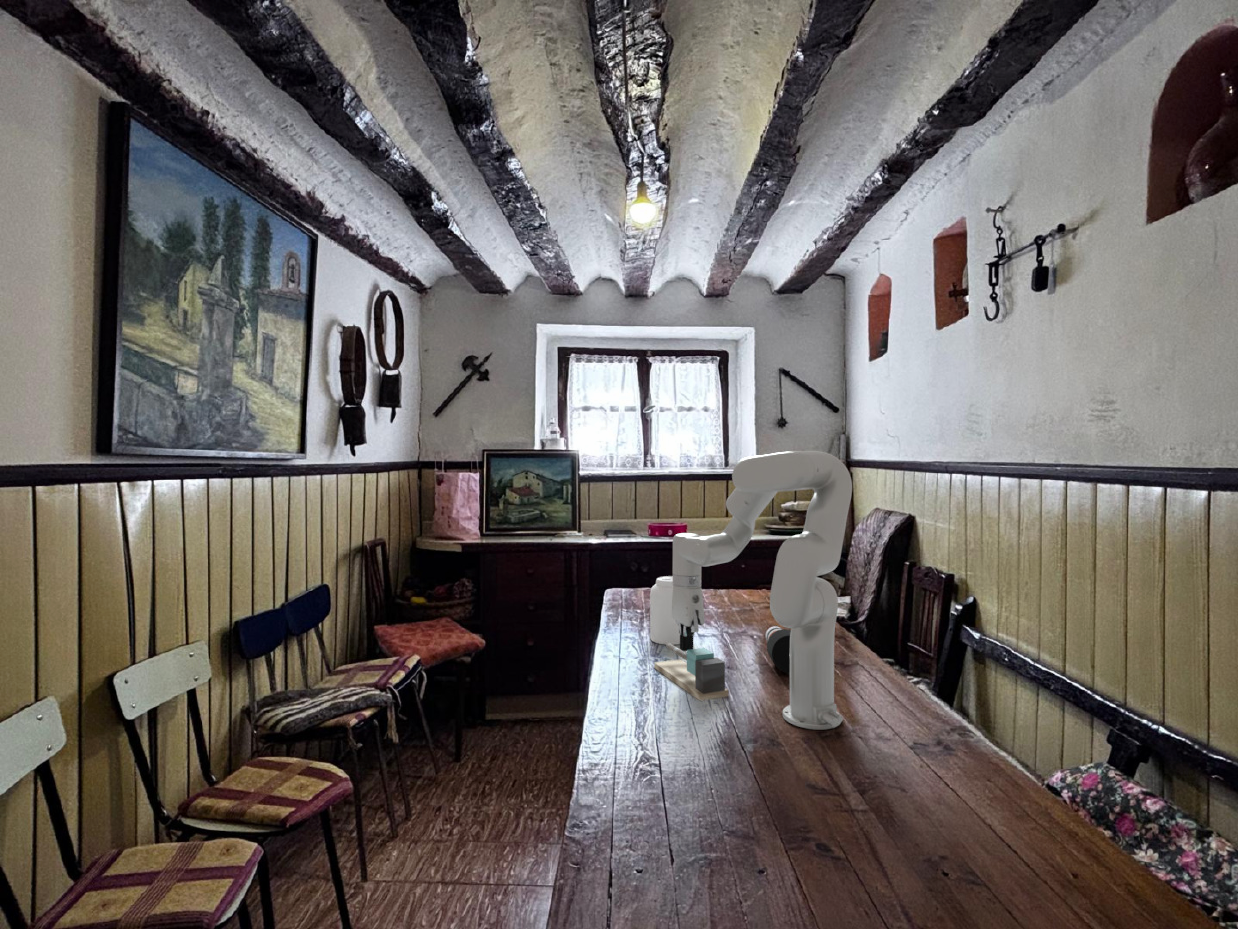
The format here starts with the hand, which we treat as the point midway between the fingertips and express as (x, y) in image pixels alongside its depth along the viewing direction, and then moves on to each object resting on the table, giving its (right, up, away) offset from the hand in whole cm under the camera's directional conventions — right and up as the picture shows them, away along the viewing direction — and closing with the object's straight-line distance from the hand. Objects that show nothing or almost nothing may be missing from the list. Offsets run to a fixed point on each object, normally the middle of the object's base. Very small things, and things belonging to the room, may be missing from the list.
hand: (686, 649), depth 171 cm
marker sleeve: (+3, -4, -7) cm, 8 cm away
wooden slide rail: (+1, -8, -1) cm, 8 cm away
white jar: (-2, -8, +37) cm, 38 cm away
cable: (+30, -8, +19) cm, 36 cm away
